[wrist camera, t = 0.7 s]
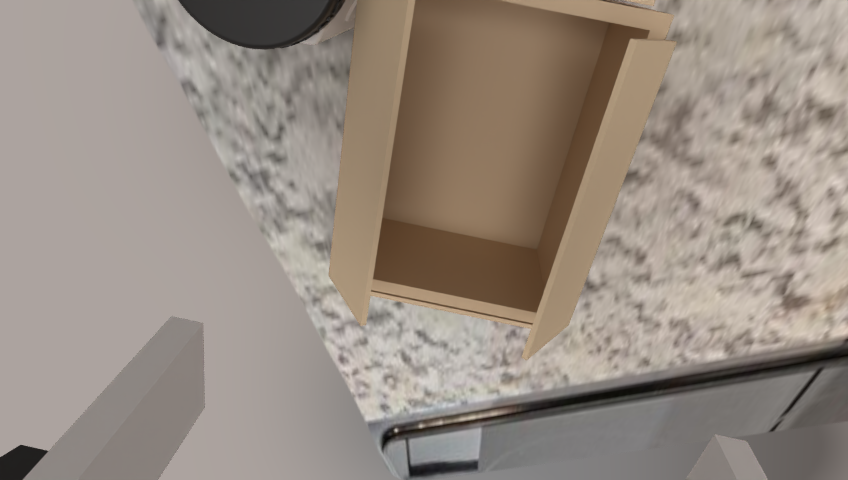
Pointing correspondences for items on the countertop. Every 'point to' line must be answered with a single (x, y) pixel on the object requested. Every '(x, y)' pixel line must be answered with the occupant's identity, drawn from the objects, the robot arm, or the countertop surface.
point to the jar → (273, 20)
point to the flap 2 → (600, 185)
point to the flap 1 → (368, 145)
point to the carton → (496, 146)
